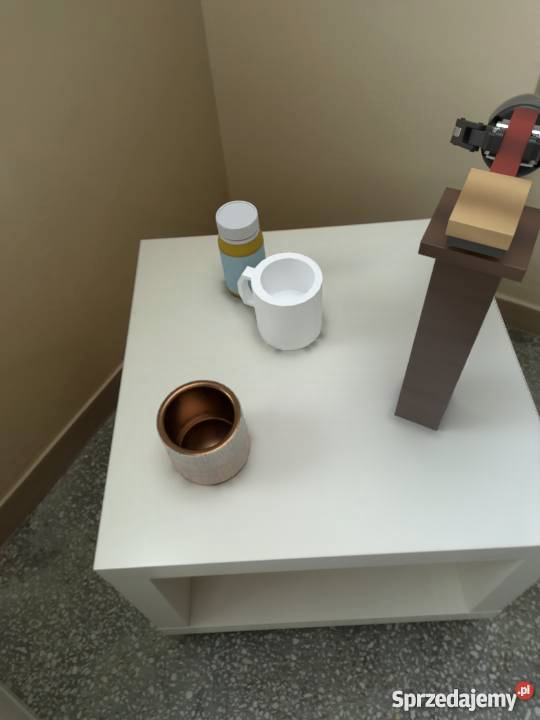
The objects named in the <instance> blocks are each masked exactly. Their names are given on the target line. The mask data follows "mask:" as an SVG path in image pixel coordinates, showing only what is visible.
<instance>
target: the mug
mask: <svg viewBox="0 0 540 720" xmlns="http://www.w3.org/2000/svg"><path fill="white" fill-rule="evenodd" d="M248 280H250V281H251V287H252V292H251V290H250V288H249V286H248ZM323 281H324V279H323V271H322V270H321V268H320V266H319V265H318V263H317V262H316V261H314V259H312V258H311V257H308V256H307V255H304V254H302V253H296V252H280V253H276V254H273V255H269V256H267V257H266V259H264V260H263V261H261V262H260V263H259V264H258V265H257V266H256V267H255V268H252V267H249V266H247V267H246V269H245V270H244V272H243V273H242V275H241V277H240V278H239V280H238V282H237V285H238V293H239V295H240V297H239V298H241V300H242V303H243V304H244V305H246V306H250V307H253V308H254V312H255V319H256V325H257V331H258V333H259V336H260V338H261V339H262V340H263V341H264V342H265V343H266V344H267V345H268V346H271V347H272V348H273V349H276V350H282V351H298V350H300V349H303V348H306V347H308V346H309V345H311V344H312V343H314V342H315V341H316V339H317V338H318V337H319V336H320V334H321V331H322V328H323V285H324V284H323V283H324V282H323ZM252 293H253V294H252Z"/></svg>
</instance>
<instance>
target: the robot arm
mask: <svg viewBox="0 0 540 720" xmlns="http://www.w3.org/2000/svg"><path fill="white" fill-rule="evenodd" d="M516 107H521V108H527V109H532V110H538V111H540V95H538V94H536V93H531V92H530V93H521V94H517V95H514V96H512V97H510V98H508V99H506V100H505V101H503V102H502V103H500V104H499V105H498V106H497V107H496V108H495V109H494V110H493V111H492V112H491V114H490V116H489V118H488V120H487V124H484V122H479V121H478V122H476V121H471V120H468V119H466V118H465V117H460V118H456V121H455V125H454V127H453V130H452V133H451V134H452V135H451V138H450V141H449V143H450V144H452V145H453V146H456V147H459V148H462V149H464V150H467V151H469V152H470V153H475V152H477V153H479V151H480V153H481V157H482V158H481V159H482V160H483V162H484V164H485V165H486V167H487V168H488V169H489V170H490V169H491V166H492V164H493V161H494V159H495V156H496V154H497V153H498V150H499V148H500V145H501V143H502V140H503V138H504V136H505V133H506V130H507V127H508V125H509V122H510V120H511V118H512V115H513V113H514V110H515V108H516ZM539 169H540V112H539V114H538V117H537V120H536V122H535V125H534V128H533V131H532V133H531V136H530V137H529V140H528V142H527V145H526V148H525V151H524V153H523V156H522V160H521V163H520V166H519V168H518V171H517V174H516V177H517V178H522V177H525V176H528V175H530V174H533V173H534V172H536V171H538V170H539Z"/></svg>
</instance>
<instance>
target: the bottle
mask: <svg viewBox="0 0 540 720" xmlns="http://www.w3.org/2000/svg"><path fill="white" fill-rule="evenodd" d="M259 220H260V219H259V212H258V210H257V208H256V206H255V205H254V204H252V203H250V202H248V201H245V200H233V201H228V202H226V203H224V204H222V205H221V206H220V207H219V208H218V209H217V211H216V213H215V222H216V226H217V231H218V236H217V246H218V251H219V256H220V260H221V265H222V266H221V267H222V271H223V274H224V275H223V276H224V280H225V284H226V288H227V290H228V291H229V292H230V293H231V294H232V295H234V296H236V297H239V298H241V297H240V295H239V293H238V285H237V282H238V280H239V278H240V277H241V275H242V273H243V272H244V270H245V269H246V267H247V266H249V267H252V268H255V267H256V266H257V265H258V264H259V263H260V262H261V261H263V260H264V259H266V258H267V257H266V250H265V241H264V239H265V238H264V235H263V231H262V230H261V228H260V221H259ZM248 286H249V288H250V290H251V292H252V287H251V281H250V280H248ZM252 294H253V293H252Z"/></svg>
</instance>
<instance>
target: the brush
mask: <svg viewBox="0 0 540 720" xmlns="http://www.w3.org/2000/svg"><path fill="white" fill-rule="evenodd" d="M539 112H540V111H538V110H532V109H527V108H521V107H516V108H515V110H514V113H513V115H512V118H511V120H510V122H509V125H508V127H507V130H506V133H505V136H504V138H503V140H502V143H501V145H500V148H499V150H498V153H497V154H496V156H495V159H494V161H493V164H492V166H491V169H489V170H484V169H480V168H475V167H471V169H470V171H469V173H468V175H467V178H466V179H465V182H464V184H463V186H462V189H461V190H462V191H461V193H460V196H459V198H458V200H457V202H456V205H455V207H454V209H453V211H452V214H451V216H450V218H449V221H448V225H447V229H446V232H445V234H446V235H448V236H447V239H446V244H447V245H451V246H455V247H458V248H462V249H466V250H470V251H473V252H477V253H481V254H485V255H488V256H492V257H496V258H500V259H501V258H502V256H503V254H504V252H505V250H508V249H509V247H510V244H511V242H512V239H513V237H514V234H515V231H516V228H517V225H518V222H519V220H520V217H521V214H522V211H523V208H524V205H525V206H526V203H527V199H528V196H529V193H530V190H531V187H532V184H533V181H532V180H531V179H525V178H522V177H516V174H517V171H518V168H519V166H520V163H521V160H522V156H523V153H524V151H525V148H526V145H527V142H528V140H529V137H530V136H531V133H532V131H533V128H534V125H535V122H536V120H537V117H538V114H539Z"/></svg>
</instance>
